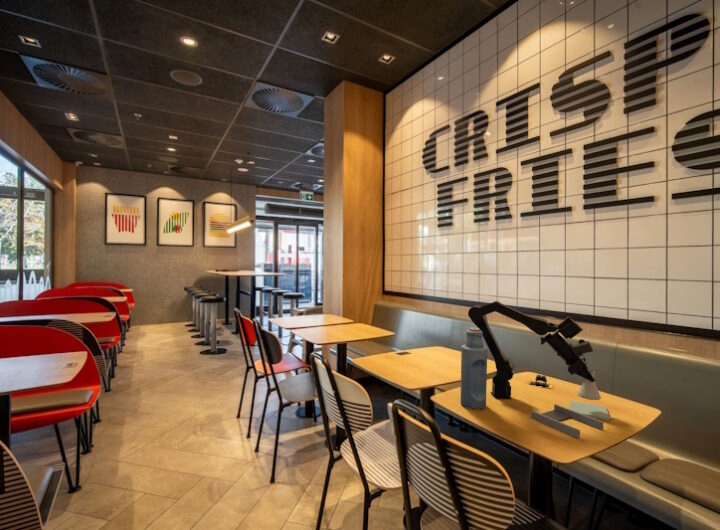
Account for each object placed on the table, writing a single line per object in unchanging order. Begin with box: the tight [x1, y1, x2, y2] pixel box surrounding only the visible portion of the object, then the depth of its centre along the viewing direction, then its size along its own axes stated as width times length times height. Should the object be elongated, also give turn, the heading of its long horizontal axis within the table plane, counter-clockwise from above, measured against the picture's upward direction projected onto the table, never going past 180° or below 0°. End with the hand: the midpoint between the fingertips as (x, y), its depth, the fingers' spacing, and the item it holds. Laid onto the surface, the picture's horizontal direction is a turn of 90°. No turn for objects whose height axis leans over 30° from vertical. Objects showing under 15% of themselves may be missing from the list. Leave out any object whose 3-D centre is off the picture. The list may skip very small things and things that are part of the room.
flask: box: [576, 369, 602, 401], centre depth 137 cm, size 7×7×10 cm
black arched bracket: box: [528, 374, 550, 388], centre depth 166 cm, size 12×7×5 cm, turn 57°
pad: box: [569, 400, 611, 421], centre depth 138 cm, size 12×12×1 cm
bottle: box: [459, 327, 488, 410], centre depth 142 cm, size 10×10×30 cm
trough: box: [530, 403, 604, 440], centre depth 127 cm, size 17×14×2 cm
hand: (593, 380), depth 136 cm, fingers closed on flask, 3 cm apart
